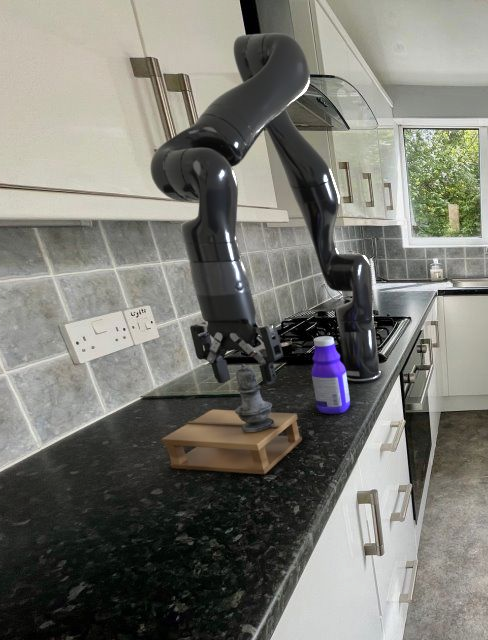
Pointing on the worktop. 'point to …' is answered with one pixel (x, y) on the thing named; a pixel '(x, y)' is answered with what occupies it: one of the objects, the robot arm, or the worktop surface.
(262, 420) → the grey tall turned figure
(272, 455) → the oak rack
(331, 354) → the bottle
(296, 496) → the worktop surface
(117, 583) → the worktop surface
